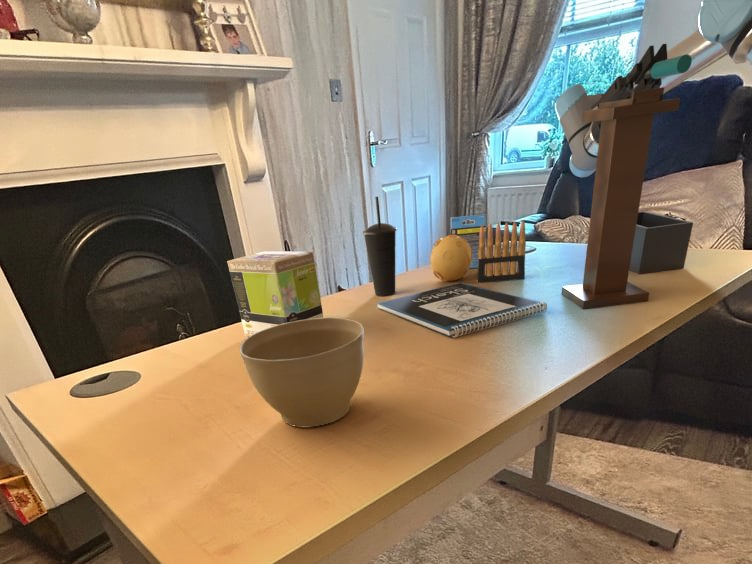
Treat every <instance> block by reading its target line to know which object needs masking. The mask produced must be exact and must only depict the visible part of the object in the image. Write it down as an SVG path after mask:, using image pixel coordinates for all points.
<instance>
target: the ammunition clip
mask: <svg viewBox="0 0 752 564" xmlns="http://www.w3.org/2000/svg"><path fill="white" fill-rule="evenodd" d="M501 228H502V227H501V224H500V222H497V223H496V229H495V238H494V231H493V225H492V224H491V223H489V225H488V228H487V234H486V245H485V232H484V227H483V224H482V225H481V228H480V234H479V246H478V268H477V283H479V282H480V283H492V282H491V281H493V282H504V281H506V282H507V281H517V280H518V281H519V280H525V278H526V244H527V242H526V241H527V240H526V224H525V221H524V220H522V221H521V223H520V228H519V235H518V224H517V222H516V221H515V220H514V221H513V224H512V228H511V236H510V229H509V223H508V221H506V222H505V224H504V227H503V238H502V229H501ZM518 236H519V237H518ZM485 264H486V266H485ZM480 283H479V284H480Z"/></svg>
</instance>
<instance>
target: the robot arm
mask: <svg viewBox="0 0 752 564" xmlns="http://www.w3.org/2000/svg"><path fill="white" fill-rule="evenodd" d="M698 12H699V13H698V29H697V30H696V31H694V32H693V33H692V34H690V35H689V36H688V37H686V38H683V40H681V41H680V42H679V43H677V44H676V45H673V47H671V48H670V49H668V45H667V43H662V44H661V46H660V47H659V48H658V50H657V52H656V53H655V45H649V46H648V48H647V49H646V51H645V53H644V54H643V56H642V57H641V59H640V61H639V62H637V63H634V65H633V66H632V69H631V70H630V72H628V73H627V74H626V75H625V76H624V77H623V75H619V76H617V77H616V78H615V79H614V81H613V82H612V83H611V84H610V86H609V87H608V88H607V89H606V91H604V93H596V94H588V91H587V90H586V89H585V87H584V86H583V85H582V84H581V83H577V84H574V85H571V86H569V87H568V88H567V89H566V90H564V91H563V92H561V94H560V95H559V96H558V98H557V99H556V101H555V104H554V109H555V113H556V115H557V118H558V122H559V124H560V126H561V129H562V131H563V134H564V136H565V139H566V140H567V143H568V146H569V149H570V151H571V155H570V158H569V164H568V165H569V169H570V171H571V173H572V174H573V175H574V176H575V177H579V178H587V177H589V176H591V175H592V174H593V173H594V172H596V164H597V155H598V146H599V138H600V129H601V121H589V122H582V118H583V111H590V110H597V109H599V104H600V103H605V102H612V101H618V100H625V99H631V97H632V92H634V91H641V90H648V89H655V88H662V87H664V93H663V95H664V94H666V93H667V92H669V91H671V90H672V89H674V88H675V87H677V86H679V85H681V84H682V83H684V82H685V81H687V80H689V79H690V78H692V77H694V76H695V75H697V74H698V73H700V72H702V71H703V70H705V69H707V68H708V67H710V66H711V65H713V64H714V63H717V62H718V61H720V60H721V59H724V57H726V56H729V57H730V58H731V59H730V60H732V62H733V63H734V64H736V65H738V64H744V63H745V64H748V65H749V66H750V68H751V69H752V0H701V5H700V10H699V11H698ZM686 54H688V55H690V56H691V59H692V63H691V66H690V68H689V69H688V70H687V71H686V72H685V73H681V74H676V75H672V76H667V77H663V78H658V79H654V78H652V77H651V78H647V79H642V78H643V77H644V75H645V73H646V72H647V71H648V69H649V68H650V66H653V65H654V64H655V63H657V62H659V61H663V60H667V59H671V58H674V57H678V56H682V55H686Z"/></svg>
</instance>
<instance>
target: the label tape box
mask: <svg viewBox="0 0 752 564" xmlns="http://www.w3.org/2000/svg"><path fill="white" fill-rule="evenodd" d="M467 221H469V222H473V223H464V222H467ZM486 221H487V214H486V213H484V214H475V215H474V214H473V215H463V216H451V217H450V230H449V231H450V234H449V235H457V236H459V237H461V238H463V239H465V240H466V241H467V242H468V244H469V246H470V248H471V250H472V261H471V265H470V267H469V269H470V268H471V269H478V246H479V234H480V228H481V225H482V224H483V227H484V232H485V245H487V224H486V223H487V222H486ZM463 223H464V224H463ZM485 267H486V264H485ZM469 269H468V270H469Z"/></svg>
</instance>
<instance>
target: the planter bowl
mask: <svg viewBox="0 0 752 564" xmlns="http://www.w3.org/2000/svg"><path fill="white" fill-rule="evenodd" d="M364 338H365V329H364V326H363V325H362V323H360V322H358V321H357V320H355V319H351V318H346V317H345V318H344V317H330V316H329V317H324V318H313V319H305V320H299V321H293V322H288V323H284V324H280V325H276V326H273V327H270V328H267V329H264V330H262V331H259V332H257V333H255V334H253V335H251V336H247V337H246V338H245V339H244V340H243V341H242V342H241V343H240V345H239V347H238V351H239V355H240V357H241V359H242V361H243V363H244V365H245V369H246V371H247V375H248V376H249V378H250V380H251V383H252V384H253V386H254V388H255V389H256V391H257V392H258V393H259V395H260V396H261V397H262V399H263V400H264V401H265V402H266V403H267V404H268V405H269V406H270V407H271V408H272V409H273V410H274V411H276V412H277V413H278V414H280V416H281V418H282V420H283V421H284V423H286V422H287V423H289V424H291V425H295V426H310V427H309V428H312V427H311V426H317V427H319V426H318V425H322V426H325V425H324V424H326V425H329V424H332V423H334V422H336V421H339V420H340V419H341V418H343V417H344V416H346V415H347V414H348V412H349V411H350V408H351V401H352V399H353V397H354V395H355V394H356V391H357V388H358V387H359V383H360V381H361V377H362V374H363V373H362V372H363V367H364V362H365V361H364V358H365V356H364V355H365V350H364V349H365V347H364ZM287 423H286V424H287ZM328 423H329V424H328ZM289 424H288V425H289ZM291 425H290V426H291ZM295 426H294V427H295Z"/></svg>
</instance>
